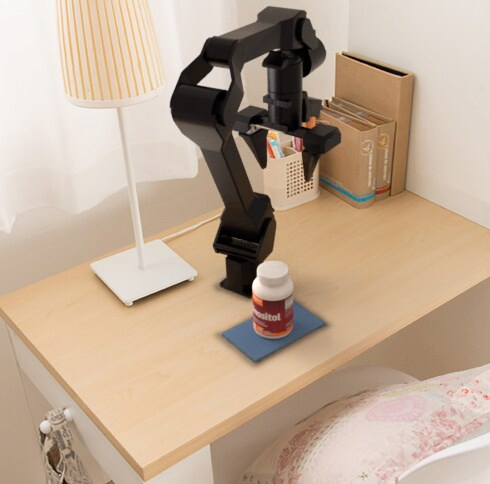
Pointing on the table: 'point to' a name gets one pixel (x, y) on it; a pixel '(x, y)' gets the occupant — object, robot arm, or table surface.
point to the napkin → (263, 347)
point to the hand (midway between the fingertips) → (285, 174)
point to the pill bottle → (273, 300)
